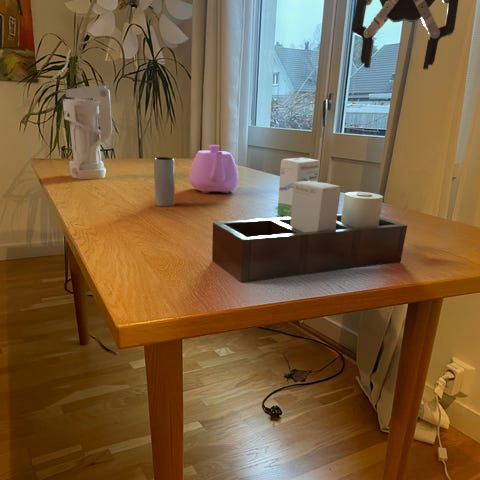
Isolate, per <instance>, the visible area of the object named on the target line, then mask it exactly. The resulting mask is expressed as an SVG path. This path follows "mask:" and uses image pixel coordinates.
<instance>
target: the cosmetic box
mask: <svg viewBox="0 0 480 480" xmlns="http://www.w3.org/2000/svg"><path fill="white" fill-rule="evenodd" d="M341 190H342V186H341V185H336V184H331V183H327V182H320V181H318V182H315V181H302V182H294V188H293V199H292V210H291V221H290V226H291V227H294V228H296V229H298V230H300V231H303V232H314V231H325V230H335V229H336V222H337V214H339V213H338V212H339V205H340V197H341V193H342V192H341Z"/></svg>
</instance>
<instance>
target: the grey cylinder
mask: <svg viewBox="0 0 480 480" xmlns="http://www.w3.org/2000/svg"><path fill="white" fill-rule="evenodd" d="M153 180H154V183H153V184H154V203H155V206H158V207H173V206H175V205H176V192H175V191H176V190H175V186H176V185H175V158H174V157H167V156H158V157H157V156H156V157H153Z"/></svg>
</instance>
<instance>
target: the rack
mask: <svg viewBox="0 0 480 480" xmlns="http://www.w3.org/2000/svg"><path fill="white" fill-rule="evenodd" d="M341 217H342V213H338V214H337V222H336V229H335V230H325V231H314V232H303V231H300V230H298V229H296V228H294V227H291V226H290V221H291V217H288V216H283V217H282V216H281V217H271V218H269V217H268V218H254V219H253V218H252V219H241V220H239V219H238V220H227V221H226V220H225V221H213V222H212V247H211V248H212V249H211V250H212V252H211V261H212V262H214V264H216V265H218V267H220V268H222V270H224V271H225V272H226V273H228V274H229V275H230V276H232V277H234V279H236V280H237V281H239V282H240V283H247V282H255V281H263V280H271V279H278V278H286V277H287V278H288V277H294V276H301V275H309V274H318V273H326V272H335V271H341V270H349V269H358V268H365V267H373V266H380V265H381V266H382V265H389V264H396V263H401V261H402V257H403V252H404V251H403V250H404V247H405V241H406V236H407V230H408V225H406V224H404V223H401V222H397V221H395V220H392V219H388V218H384V217H382V216H380V221H379V226H372V227H361V228H355V227H352V226H349V225H347V224H344V223H341Z"/></svg>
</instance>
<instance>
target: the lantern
mask: <svg viewBox="0 0 480 480" xmlns="http://www.w3.org/2000/svg"><path fill="white" fill-rule="evenodd" d="M107 87H108V85H89V86H88V85H87V86H80V87H75V88H68V89H64V92H65V98H63V99H62V107H63V117H64V120H66V121H69V130H70V132H69V133H70V141H71V153H72V160H70V161H68V165H69V172H70V175H71V178H73V179H81V180H99V179H104V178H105V177H106V173H107V168H106V167H105V165H104V161H102V155H101V146H100V145H102V144H103V143H106V141H107V140H108V139H109V137H110V136H111V135H112V133H113V121H112V106H111V93H110V92H111V91H110V89H108V88H107ZM96 99H97V100H96Z"/></svg>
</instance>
